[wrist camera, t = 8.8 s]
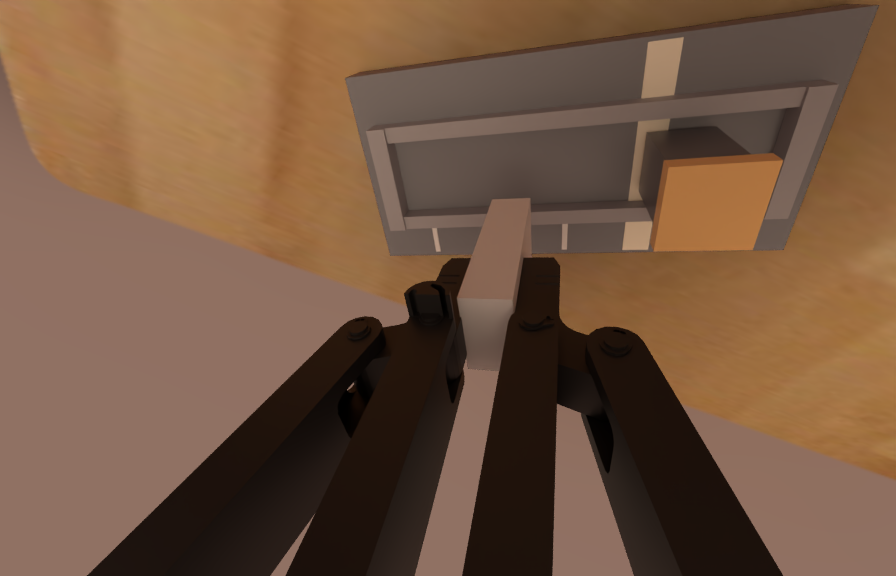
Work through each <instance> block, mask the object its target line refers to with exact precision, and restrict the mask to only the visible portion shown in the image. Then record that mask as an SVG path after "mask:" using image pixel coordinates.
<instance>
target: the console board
mask: <svg viewBox="0 0 896 576" xmlns="http://www.w3.org/2000/svg"><path fill="white" fill-rule="evenodd" d="M878 7H879V5H860V4H846V5H839V6H832V7H825V8H818V9H811V10H803V11H796V12H789V13H782V14H775V15H768V16H760V17H753V18H746V19H739V20H732V21H725V22H717V23H710V24H703V25H696V26H689V27H682V28H674V29H667V30H660V31H653V32H646V33H639V34H631V35H624V36H617V37H610V38H603V39H596V40H588V41H581V42H574V43H567V44H560V45H553V46H545V47H538V48H531V49H524V50H517V51H510V52H502V53H495V54H488V55H481V56H474V57H467V58H459V59H452V60H445V61H438V62H431V63H424V64H416V65H409V66H402V67H395V68H388V69H381V70H373V71H366V72H359V73H357V74H354V75H352V76H349V77H347V78H345V80H346V84H347V88H348V92H349V96H350V100H351V104H352V107H353V111H354V115H355V119H356V123H357V127H358V131H359V135H360V139H361V143H362V146H363V150H364V154H365V158H366V162H367V166H368V170H369V174H370V178H371V182H372V186H373V189H374V193H375V197H376V201H377V205H378V209H379V213H380V217H381V221H382V225H383V228H384V232H385V236H386V240H387V244H388V248H389V252H390V256H401V255H472V254H473V252H474V249H475V246H476V243H477V240H478V238H479V235H480V232H481V229H482V227H483V224H484V221H485V218H486V215H487V213H488V210H489V207H490V204H491V201H492V199H515V198H530V201H531V246H532V254H542V253H613V252H654V251H653V249H652V246H651V244H650V239H651V233H652V227H653V222H652V220H651V218H650V216H649V213H648V211H647V209H646V207H645V204H644V202H643V200H642V198H641V195H640V193H639V184H640V177H641V169H642V162H643V155H644V148H645V141H646V134H647V132H656V131H669V130H681V129H693V128H705V127H718V128H719V129H720V130H722V131H723V132H724V133H725V134H727V135H728V136H729V137H730V138H732V139H733V140H734V141H735V142H737V143H738V144H739V145H741V146H742V147H743V148H744V149H746V150H747V151H748V152H749V153H751V154H766V153H774V154H775V155H777V156H778V157H780V158H781V159H782V160H783V163H782V166H781V169H780V172H779V175H778V177H777V180H776V183H775V186H774V189H773V192H772V195H771V198H770V201H769V204H768V207H767V210H766V213H765V216H764V219H763V221H762V224H761V227H760V230H759V233H758V236H757V239H756V242H755V245H754V248H753V250H728V251H754V250H784V247H785V245H786V242H787V240H788V237H789V234H790V232H791V229H792V227H793V224H794V222H795V219H796V217H797V214H798V211H799V209H800V206H801V204H802V201H803V199H804V196H805V194H806V191H807V188H808V186H809V183H810V181H811V178H812V176H813V173H814V171H815V168H816V165H817V163H818V160H819V158H820V155H821V153H822V150H823V147H824V145H825V142H826V140H827V137H828V135H829V132H830V130H831V127H832V124H833V122H834V119H835V117H836V114H837V112H838V109H839V107H840V104H841V101H842V99H843V96H844V94H845V91H846V89H847V86H848V84H849V81H850V78H851V76H852V73H853V71H854V68H855V66H856V63H857V61H858V58H859V55H860V53H861V50H862V48H863V45H864V43H865V40H866V38H867V35H868V32H869V30H870V27H871V25H872V22H873V20H874V17H875V14H876V12H877V9H878ZM659 252H684V251H659Z"/></svg>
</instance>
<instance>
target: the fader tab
mask: <svg viewBox="0 0 896 576" xmlns="http://www.w3.org/2000/svg"><path fill="white" fill-rule="evenodd" d="M782 163H783V160H782V159H781V158H780V157H778V156H777V155H775V154H774V153H766V154H751V153H749V152H748V151H747V150H746V149H744V148H743V147H742V146H741V145H739V144H738V143H737V142H735V141H734V140H733V139H732V138H730V137H729V136H728V135H727V134H725V133H724V132H723V131H722V130H720V129H719V128H718V127H705V128H693V129H681V130H669V131H656V132H647V134H646V141H645V148H644V155H643V162H642V169H641V177H640V184H639V193H640V195H641V198H642V200H643V202H644V204H645V207H646V209H647V211H648V213H649V216H650V218H651V220H652V222H653V227H652V233H651V239H650V244H651V246H652V249H653V251H654V252H659V251H728V250H753V248H754V245H755V242H756V239H757V236H758V233H759V230H760V227H761V224H762V221H763V219H764V216H765V213H766V210H767V207H768V204H769V201H770V198H771V195H772V192H773V189H774V186H775V183H776V180H777V177H778V175H779V172H780V169H781V166H782Z"/></svg>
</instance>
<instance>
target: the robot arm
mask: <svg viewBox="0 0 896 576" xmlns="http://www.w3.org/2000/svg"><path fill="white" fill-rule="evenodd" d="M559 293H560V265H559V264H558V263H557V261H556V260H555V259H554V258H532V246H531V201H530V198H515V199H492V201H491V204H490V207H489V210H488V213H487V215H486V218H485V221H484V224H483V227H482V229H481V232H480V235H479V238H478V240H477V243H476V246H475V249H474V252H473V254H472V257H471V258H452V259H451V260H449V261H448V262H447V263H446V264H445V265H443V267H442V269H441V271H440V273H439V277H438V278H437V280H436V281H426V282H421V283H418V284H415V285H414V286H412V287H410V288H409V289H408V290H407V291H406V292H405V293H404V296H405V300H406V304H407V308H408V312H409V316H410V317H409V319H408V321H407V322H406V323H404V324H400V325H395V326H389V327H384V328H383V327H382V324H381V323H380V321H379V320H378V319H376V318H374V317H366V316H365V317H359V318H355V319H353V320H351V321H348V322H347V323H346V324H344V325H343V326H342V327H340V329H338V330H337V331H336V333H334V334H333V335H332V336H331V337H330V338H329V339H328V340H327V341H326V342H325V343H324V344H323V345H322V346H321V347H320V348H319V349H318V350H317V351H316V352H315V353H314V354H313V355H312V356H311V357H310V358H309V359H308V360H307V361H306V362H305V363H304V364H303V365H302V366H301V367H300V368H299V369H298V370H297V371H296V372H295V373H294V374H293V375H291V377H289V378H288V379H287V380H286V381H285V382H284V383H283V384H282V385H281V386H280V387H279V388H278V389H277V390H276V391H275V392H274V393H273V394H272V395H271V396H270V397H269V398H268V399H267V400H266V401H265V402H264V403H263V404H262V405H261V406H260V407H259V408H258V409H257V410H256V411H255V412H254V413H253V414H252V415H251V416H250V417H249V418H248V419H247V420H246V421H244V423H243V424H241V425H240V426H239V428H237V429H236V430H235V431H234V432H233V433H232V434H231V435H230V436H229V437H228V438H227V439H226V440H225V441H224V442H223V443H222V444H221V445H220V446H219V447H218V448H217V449H216V450H215V451H214V452H213V453H212V454H211V455H210V456H209V457H208V458H207V459H206V460H205V461H204V462H203V463H202V464H201V465H200V466H199V467H198V468H197V469H196V470H194V471H193V473H192V474H190V475H189V476H188V477H187V478H186V479H185V480H184V481H183V482H182V483H181V484H180V485H179V486H178V487H177V488H176V489H175V490H174V491H173V492H172V493H171V494H170V495H169V496H168V497H167V498H166V499H165V500H164V501H163V502H162V503H161V504H160V505H159V506H158V507H157V508H156V509H155V510H154V511H153V512H152V513H151V514H150V515H149V516H148V517H147V518H145V519H144V521H142V523H140V524H139V525H138V526H137V527H136V528H135V529H134V530H133V531H132V532H131V533H130V534H129V535H128V536H127V537H126V538H125V539H124V540H123V541H122V542H121V543H120V544H119V545H118V546H117V547H116V548H115V549H114V550H113V551H112V552H111V553H110V554H109V555H108V556H107V557H106V558H105V559H104V560H103V561H102V562H101V563H100V564H99V565H98V566H97V567H95V568H94V569H93V571H92V572H91V573H89V574H88V575H87V576H270V575H271V574H272V572H273V571H274V570H275V568H276V567H277V565H278V564H279V563H280V561H281V560H282V558H283V557H284V556H285V554H286V553H287V552H288V550H289V549H290V547H291V546H292V544H293V543H294V542H295V540H296V539H297V538H298V536H299V535H300V533H301V532H302V531H303V529H304V528H305V526H306V525H307V524H308V522H309V521H310V520H311V518H312V517H313V515H314V514H315V515H314V517H313V519H312V522H311V524H310V526H309V528H308V530H307V532H306V534H305V536H304V538H303V540H302V543H301V544H300V546H299V549H298V551H297V553H296V555H295V557H294V559H293V561H292V563H291V565H290V568H289V570H288V572H287V574H286V576H415V572H416V568H417V564H418V560H419V556H420V552H421V549H422V544H423V541H424V537H425V533H426V529H427V525H428V521H429V517H430V514H431V510H432V506H433V502H434V498H435V494H436V490H437V486H438V483H439V479H440V475H441V471H442V467H443V463H444V459H445V456H446V451H447V448H448V444H449V440H450V436H451V432H452V428H453V424H454V420H455V417H456V413H457V409H458V405H459V401H460V397H461V393H462V390H463V386H464V371H463V367H464V363H465V359H467V366H468V369H479V370H491V371H499V375H498V381H497V386H496V392H495V398H494V403H493V408H492V414H491V419H490V425H489V431H488V436H487V442H486V447H485V453H484V458H483V464H482V470H481V475H480V480H479V486H478V492H477V497H476V502H475V508H474V513H473V519H472V525H471V530H470V536H469V541H468V547H467V553H466V558H465V563H464V569H463V574H462V576H552V566H553V529H554V489H555V452H556V413H557V404H560V405H562V406H565V407H567V408H570V409H572V410H575V411H577V412H580V413H581V416H582V419H583V423H584V426H585V429H586V432H587V435H588V438H589V441H590V444H591V447H592V450H593V452H594V456H595V459H596V462H597V465H598V468H599V471H600V474H601V477H602V480H603V483H604V486H605V489H606V492H607V495H608V498H609V501H610V504H611V507H612V510H613V513H614V516H615V519H616V523H617V525H618V529H619V532H620V534H621V538H622V540H623V543H624V547H625V550H626V553H627V556H628V559H629V561H630V565H631V567H632V571H633V574H634V576H783V575H782V573H781V571H780V569H779V568H778V566H777V564H776V563H775V561H774V559H773V558H772V556H771V555H770V553H769V551H768V549H767V548H766V546H765V544H764V543H763V541H762V539H761V538H760V536H759V534H758V533H757V531H756V529H755V528H754V526H753V524H752V523H751V521H750V519H749V517H748V516H747V514H746V513H745V511H744V509H743V508H742V506H741V504H740V503H739V501H738V499H737V497H736V496H735V494H734V492H733V491H732V489H731V487H730V486H729V484H728V482H727V481H726V479H725V478H724V476H723V474H722V472H721V471H720V469H719V467H718V466H717V464H716V462H715V461H714V459H713V458H712V455H711V454H710V452H709V450H708V449H707V447H706V445H705V444H704V442H703V440H702V439H701V437H700V435H699V434H698V432H697V430H696V429H695V427H694V425H693V424H692V422H691V420H690V419H689V417H688V415H687V413H686V412H685V410H684V408H683V407H682V405H681V403H680V402H679V400H678V398H677V397H676V395H675V393H674V392H673V390H672V388H671V387H670V385H669V383H668V382H667V380H666V378H665V377H664V375H663V373H662V372H661V370H660V368H659V367H658V365H657V363H656V361H655V360H654V358H653V356H652V355H651V353H650V351H649V350H648V348H647V346H646V345H645V343H644V342H643V340H642V339H641V338H640V337H639V336H638V335H637V334H635V333H633V332H631V331H629V330H627V329H623V328H619V327H603V328H599V329H596V330H595V331H593V332H592V333H590V334H589V335H585V334H582V333H579V332H576V331H574V330H572V329H570V328H568V327H567V326H566V325H565V324H564V323H563V322H562V321H561V319H560V316H559ZM353 382H354V385H353V387H352V388H351V389H349V390H348V391H347V389H348V388H349V387H350V385H351V384H352V383H353Z"/></svg>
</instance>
